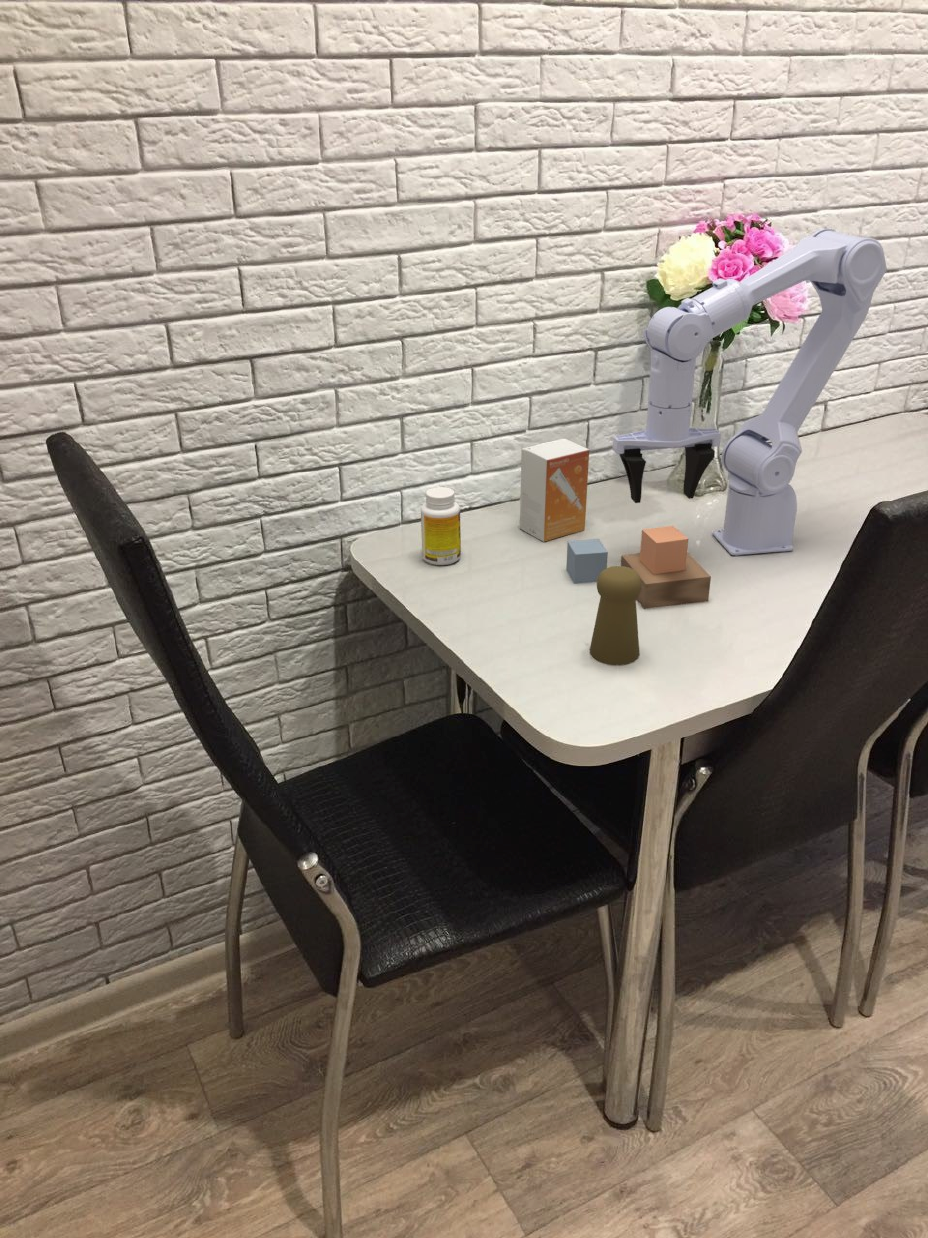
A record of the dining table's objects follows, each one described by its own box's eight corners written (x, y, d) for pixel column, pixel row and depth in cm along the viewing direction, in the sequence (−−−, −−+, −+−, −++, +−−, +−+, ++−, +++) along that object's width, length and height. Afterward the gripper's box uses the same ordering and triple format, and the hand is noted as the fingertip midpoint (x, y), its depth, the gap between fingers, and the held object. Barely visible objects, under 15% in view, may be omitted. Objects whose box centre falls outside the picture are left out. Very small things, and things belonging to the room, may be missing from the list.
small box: (544, 543, 153) (546, 459, 147) (518, 529, 158) (519, 447, 151) (586, 530, 157) (590, 448, 151) (560, 516, 162) (563, 436, 155)
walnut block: (680, 574, 144) (683, 548, 142) (707, 603, 137) (710, 576, 135) (619, 581, 143) (621, 555, 141) (643, 611, 135) (645, 584, 133)
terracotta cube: (670, 556, 140) (673, 525, 138) (685, 570, 136) (688, 538, 134) (639, 560, 139) (642, 529, 137) (653, 574, 135) (656, 543, 133)
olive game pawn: (585, 641, 128) (589, 560, 122) (633, 638, 128) (639, 558, 123) (594, 666, 122) (599, 583, 117) (644, 664, 123) (651, 581, 117)
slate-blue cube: (597, 567, 146) (599, 538, 144) (605, 581, 142) (607, 552, 140) (566, 570, 145) (567, 540, 143) (574, 584, 141) (575, 554, 139)
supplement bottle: (466, 563, 147) (465, 496, 142) (429, 569, 146) (427, 502, 141) (453, 547, 152) (452, 482, 147) (417, 553, 150) (415, 487, 145)
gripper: (710, 390, 141) (701, 483, 148) (608, 397, 139) (603, 491, 146) (730, 405, 135) (720, 502, 142) (624, 413, 133) (618, 510, 140)
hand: (662, 498), depth 143 cm, fingers open, 7 cm apart
